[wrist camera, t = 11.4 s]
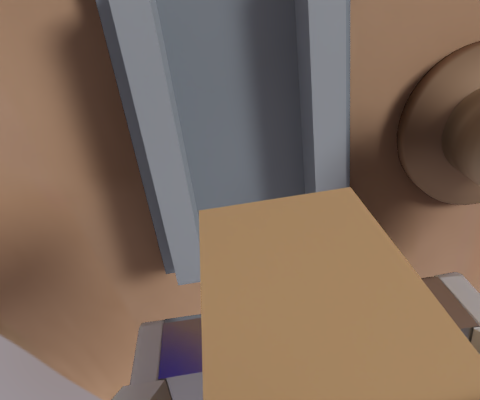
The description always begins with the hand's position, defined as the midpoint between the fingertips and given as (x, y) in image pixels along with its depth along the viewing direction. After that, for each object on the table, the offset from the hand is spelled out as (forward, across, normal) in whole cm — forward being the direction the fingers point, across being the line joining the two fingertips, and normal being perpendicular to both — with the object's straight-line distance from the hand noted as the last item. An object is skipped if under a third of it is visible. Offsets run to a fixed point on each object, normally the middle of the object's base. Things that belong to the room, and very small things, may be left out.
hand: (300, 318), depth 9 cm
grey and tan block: (+2, 0, 0) cm, 3 cm away
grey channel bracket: (+14, 0, 0) cm, 14 cm away
